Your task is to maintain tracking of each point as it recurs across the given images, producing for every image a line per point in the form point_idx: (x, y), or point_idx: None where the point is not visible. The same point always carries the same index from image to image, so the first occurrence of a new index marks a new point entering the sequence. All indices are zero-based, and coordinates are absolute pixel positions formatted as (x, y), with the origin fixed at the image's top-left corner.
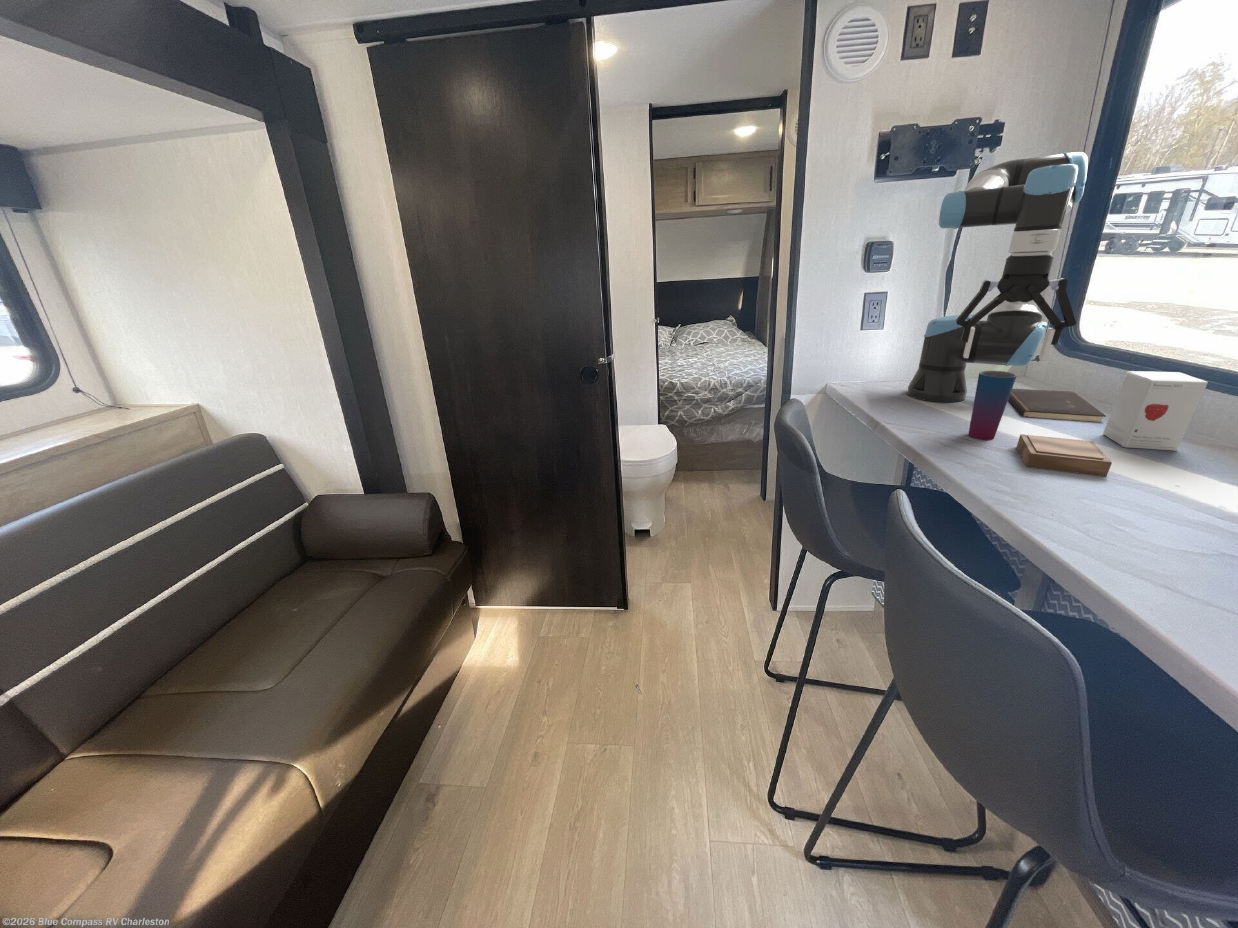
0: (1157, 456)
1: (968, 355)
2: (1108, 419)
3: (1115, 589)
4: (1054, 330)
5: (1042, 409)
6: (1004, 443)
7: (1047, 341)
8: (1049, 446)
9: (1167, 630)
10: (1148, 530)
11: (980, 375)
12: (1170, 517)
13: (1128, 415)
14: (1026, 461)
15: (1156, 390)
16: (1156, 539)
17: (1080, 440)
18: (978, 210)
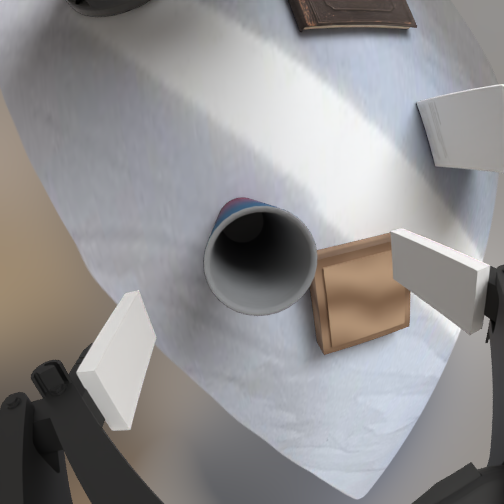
0: (458, 189)
1: (153, 344)
2: (433, 99)
3: (342, 485)
4: (478, 329)
5: (333, 10)
6: None
7: (437, 310)
8: (350, 315)
9: (353, 493)
10: (388, 418)
11: (212, 290)
12: (413, 384)
13: (464, 150)
14: (317, 334)
15: None
16: (388, 427)
17: None
18: None
